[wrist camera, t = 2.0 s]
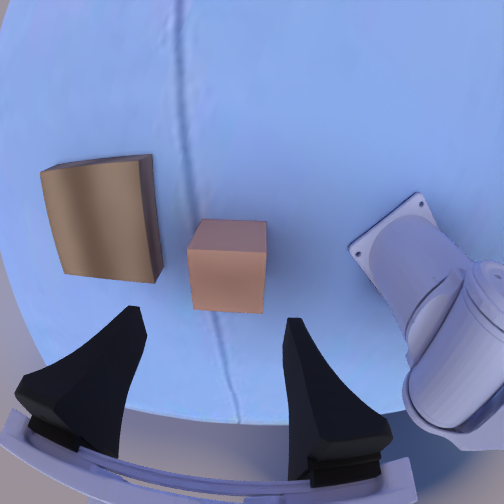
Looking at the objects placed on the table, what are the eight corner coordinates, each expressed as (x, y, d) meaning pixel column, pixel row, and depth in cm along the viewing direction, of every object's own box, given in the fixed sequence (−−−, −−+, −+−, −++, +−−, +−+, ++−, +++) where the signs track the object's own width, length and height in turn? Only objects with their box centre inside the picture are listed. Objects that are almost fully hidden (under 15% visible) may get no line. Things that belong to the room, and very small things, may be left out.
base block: (154, 153, 19) (138, 160, 17) (165, 264, 24) (154, 283, 21) (60, 163, 19) (39, 172, 17) (79, 258, 24) (64, 273, 22)
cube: (266, 221, 21) (266, 252, 17) (263, 274, 24) (262, 313, 19) (202, 218, 21) (186, 249, 17) (205, 271, 24) (193, 309, 19)
